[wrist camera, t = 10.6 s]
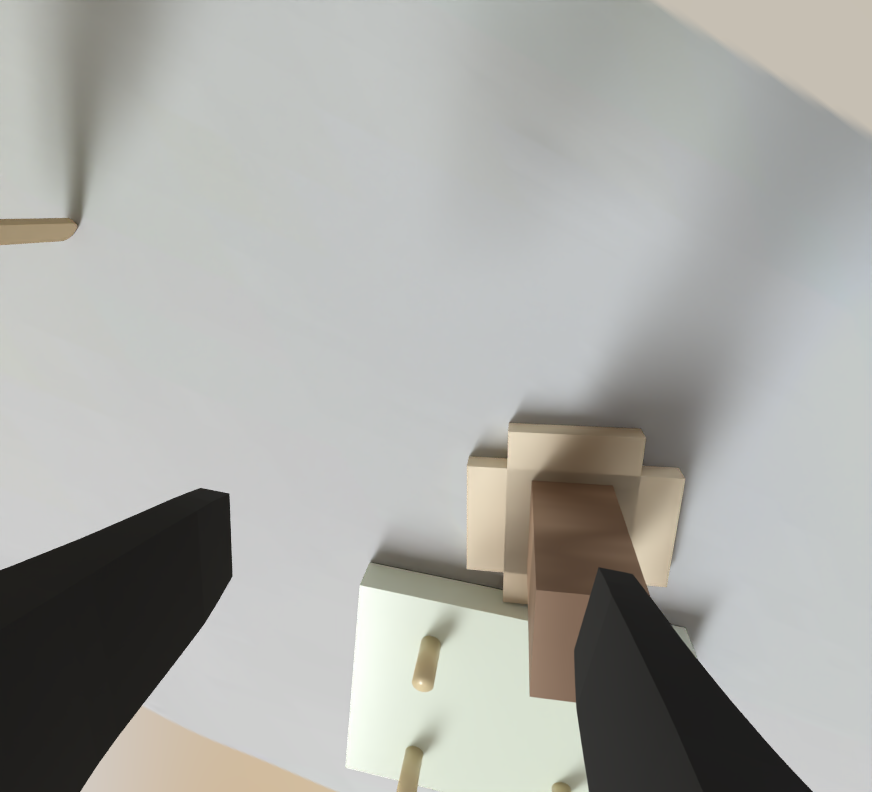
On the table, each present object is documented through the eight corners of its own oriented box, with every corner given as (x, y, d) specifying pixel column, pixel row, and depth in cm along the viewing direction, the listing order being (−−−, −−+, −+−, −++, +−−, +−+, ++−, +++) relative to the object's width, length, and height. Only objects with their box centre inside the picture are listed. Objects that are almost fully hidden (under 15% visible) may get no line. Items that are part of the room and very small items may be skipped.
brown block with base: (683, 428, 19) (770, 545, 12) (655, 599, 21) (714, 769, 15) (469, 419, 20) (444, 520, 13) (468, 582, 23) (448, 732, 16)
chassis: (685, 627, 21) (715, 702, 18) (615, 803, 26) (629, 888, 22) (369, 562, 23) (344, 620, 20) (354, 739, 27) (331, 810, 24)
